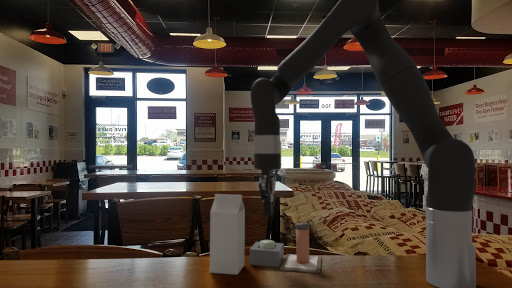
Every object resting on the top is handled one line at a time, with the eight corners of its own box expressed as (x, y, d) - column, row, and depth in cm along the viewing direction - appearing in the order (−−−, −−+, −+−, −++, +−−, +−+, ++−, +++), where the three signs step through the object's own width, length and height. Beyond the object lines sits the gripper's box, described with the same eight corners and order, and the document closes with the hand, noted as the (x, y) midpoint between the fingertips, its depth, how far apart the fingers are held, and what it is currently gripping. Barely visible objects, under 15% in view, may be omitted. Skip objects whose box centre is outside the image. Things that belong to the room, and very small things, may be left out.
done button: (275, 258, 96) (275, 240, 96) (273, 263, 92) (273, 244, 92) (261, 257, 97) (261, 239, 97) (258, 261, 93) (258, 243, 93)
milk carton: (237, 275, 83) (238, 196, 84) (209, 273, 85) (210, 195, 85) (244, 265, 90) (245, 193, 91) (218, 263, 92) (219, 192, 92)
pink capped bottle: (309, 259, 94) (309, 222, 94) (309, 263, 90) (308, 225, 91) (296, 259, 94) (296, 222, 95) (296, 263, 91) (295, 224, 91)
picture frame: (321, 257, 98) (321, 255, 98) (319, 273, 85) (319, 271, 85) (286, 255, 100) (286, 253, 100) (279, 270, 87) (279, 267, 87)
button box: (283, 257, 98) (283, 243, 98) (279, 266, 90) (279, 251, 90) (256, 255, 99) (256, 241, 99) (249, 264, 91) (249, 249, 92)
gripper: (277, 152, 88) (277, 220, 87) (284, 152, 101) (284, 211, 100) (248, 152, 90) (248, 219, 89) (259, 152, 102) (259, 210, 102)
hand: (268, 215), depth 95 cm, fingers closed
